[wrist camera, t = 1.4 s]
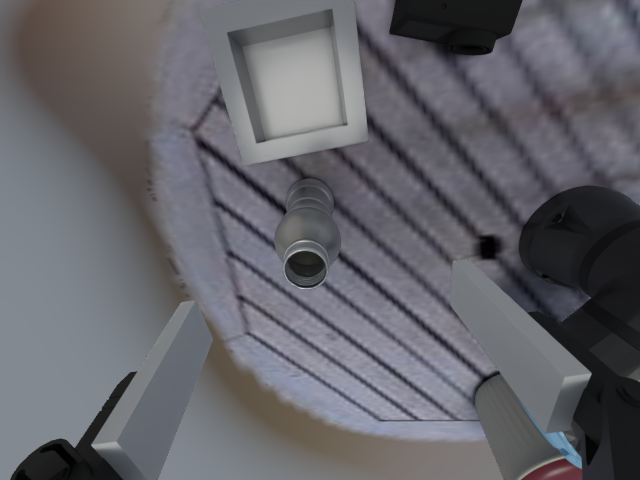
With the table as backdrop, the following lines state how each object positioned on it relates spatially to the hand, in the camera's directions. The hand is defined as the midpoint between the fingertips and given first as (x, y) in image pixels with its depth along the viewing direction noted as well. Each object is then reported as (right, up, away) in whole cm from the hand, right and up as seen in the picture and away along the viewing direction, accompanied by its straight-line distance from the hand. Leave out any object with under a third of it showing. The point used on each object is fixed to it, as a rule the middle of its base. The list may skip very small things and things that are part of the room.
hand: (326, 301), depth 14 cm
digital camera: (+13, +28, +18) cm, 35 cm away
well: (-3, +22, +20) cm, 30 cm away
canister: (+37, -28, +43) cm, 63 cm away
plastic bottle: (-2, +9, +26) cm, 27 cm away
